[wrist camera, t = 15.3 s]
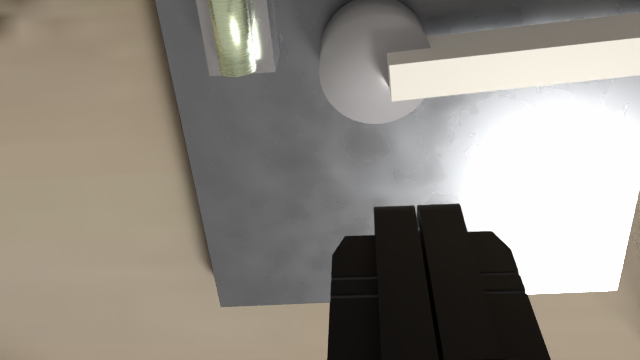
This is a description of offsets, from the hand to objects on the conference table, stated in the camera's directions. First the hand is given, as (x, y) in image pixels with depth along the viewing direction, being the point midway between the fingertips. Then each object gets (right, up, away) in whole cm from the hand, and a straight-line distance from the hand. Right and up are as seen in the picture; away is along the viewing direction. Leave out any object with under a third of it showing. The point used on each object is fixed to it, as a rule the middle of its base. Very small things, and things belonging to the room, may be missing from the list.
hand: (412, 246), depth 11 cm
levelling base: (+3, +5, +22) cm, 23 cm away
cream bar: (+7, +8, +18) cm, 20 cm away
